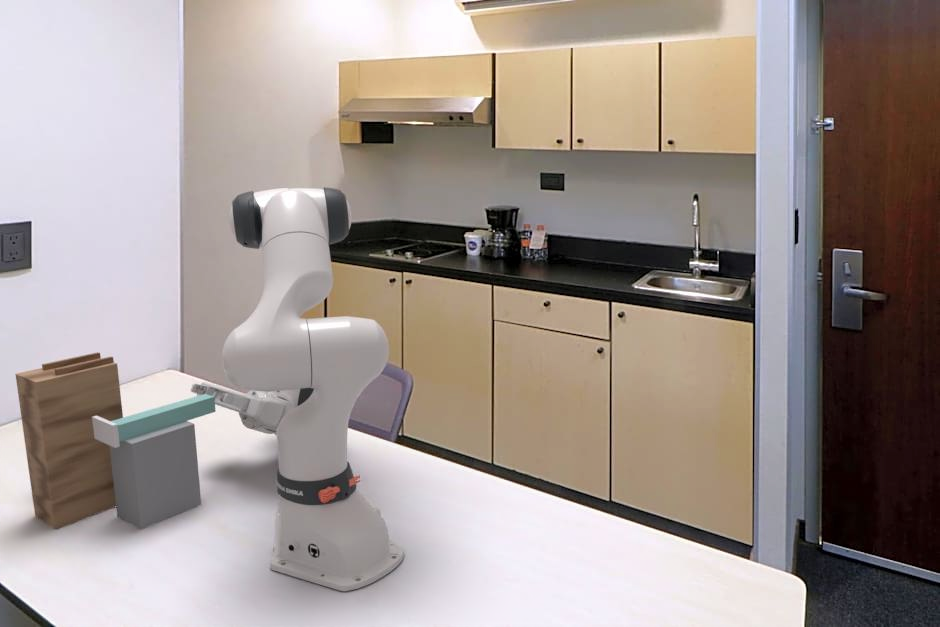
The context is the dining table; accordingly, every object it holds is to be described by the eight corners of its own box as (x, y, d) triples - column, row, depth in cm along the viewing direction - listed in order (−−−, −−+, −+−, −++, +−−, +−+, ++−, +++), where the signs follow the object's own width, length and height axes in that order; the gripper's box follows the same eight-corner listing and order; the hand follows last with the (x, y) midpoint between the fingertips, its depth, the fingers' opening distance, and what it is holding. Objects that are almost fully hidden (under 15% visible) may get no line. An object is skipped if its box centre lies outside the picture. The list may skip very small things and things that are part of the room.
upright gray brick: (201, 504, 141) (194, 423, 138) (140, 529, 132) (131, 444, 129) (177, 492, 146) (169, 414, 143) (117, 516, 137) (107, 433, 133)
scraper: (221, 413, 143) (220, 393, 142) (115, 448, 127) (112, 425, 126) (200, 406, 147) (198, 386, 146) (94, 438, 131) (92, 416, 130)
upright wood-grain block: (131, 500, 143) (116, 358, 137) (55, 529, 132) (35, 376, 126) (110, 489, 148) (94, 351, 142) (35, 516, 137) (14, 368, 131)
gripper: (235, 385, 162) (183, 367, 151) (299, 404, 150) (246, 386, 139) (225, 413, 161) (171, 397, 150) (288, 435, 149) (234, 419, 138)
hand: (208, 392), depth 144 cm, fingers open, 8 cm apart
